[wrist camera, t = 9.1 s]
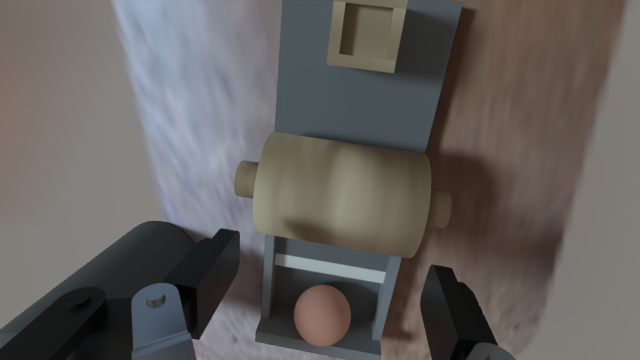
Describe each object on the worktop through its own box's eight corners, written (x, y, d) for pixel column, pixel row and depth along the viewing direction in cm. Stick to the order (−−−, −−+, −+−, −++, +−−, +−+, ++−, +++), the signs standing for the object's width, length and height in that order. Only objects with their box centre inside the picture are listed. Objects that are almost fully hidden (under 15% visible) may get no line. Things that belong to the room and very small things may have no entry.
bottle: (117, 223, 24) (-205, 445, 10) (185, 216, 23) (-72, 451, 9) (145, 284, 26) (-95, 538, 12) (209, 280, 25) (24, 552, 11)
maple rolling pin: (255, 201, 21) (220, 248, 16) (258, 119, 19) (219, 142, 14) (422, 228, 20) (443, 287, 15) (446, 145, 18) (479, 181, 13)
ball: (300, 288, 25) (299, 272, 22) (350, 297, 25) (357, 282, 21) (289, 344, 23) (286, 335, 19) (344, 355, 22) (350, 347, 19)
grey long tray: (287, -14, 17) (273, -27, 14) (457, 5, 16) (477, -5, 14) (266, 310, 26) (255, 341, 23) (376, 331, 25) (378, 365, 22)
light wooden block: (341, 3, 17) (335, -13, 13) (397, 9, 17) (408, -5, 13) (334, 62, 18) (326, 64, 14) (386, 69, 18) (393, 73, 14)
